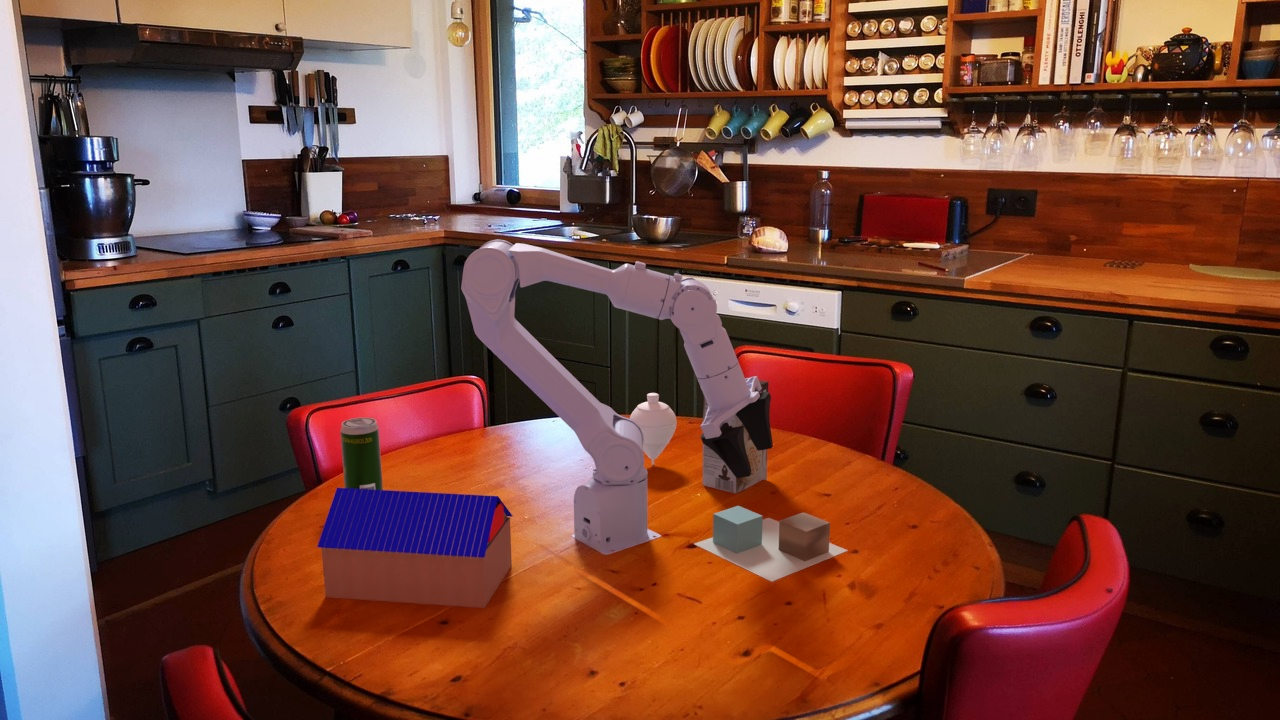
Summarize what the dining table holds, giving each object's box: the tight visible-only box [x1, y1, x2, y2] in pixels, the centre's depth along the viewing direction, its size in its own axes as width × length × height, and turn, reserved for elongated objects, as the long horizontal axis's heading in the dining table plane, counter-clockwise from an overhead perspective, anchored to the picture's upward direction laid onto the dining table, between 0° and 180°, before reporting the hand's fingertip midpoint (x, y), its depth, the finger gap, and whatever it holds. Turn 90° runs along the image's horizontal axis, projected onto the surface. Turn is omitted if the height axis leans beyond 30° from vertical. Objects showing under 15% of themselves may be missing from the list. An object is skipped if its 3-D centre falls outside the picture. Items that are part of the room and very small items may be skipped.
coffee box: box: [702, 377, 770, 494], centre depth 147 cm, size 9×6×16 cm
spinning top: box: [629, 392, 678, 466], centre depth 157 cm, size 8×8×12 cm
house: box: [316, 487, 514, 609], centre depth 116 cm, size 12×20×12 cm, turn 82°
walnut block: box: [778, 511, 831, 561], centre depth 123 cm, size 4×4×4 cm
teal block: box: [712, 505, 764, 554], centre depth 126 cm, size 4×4×4 cm
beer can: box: [339, 417, 384, 490], centre depth 142 cm, size 5×5×12 cm
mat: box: [693, 517, 849, 583], centre depth 125 cm, size 14×14×1 cm
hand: (755, 462), depth 127 cm, fingers open, 7 cm apart
